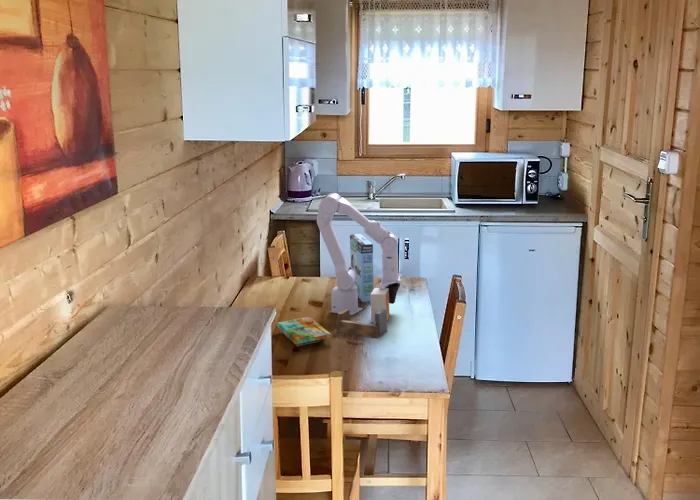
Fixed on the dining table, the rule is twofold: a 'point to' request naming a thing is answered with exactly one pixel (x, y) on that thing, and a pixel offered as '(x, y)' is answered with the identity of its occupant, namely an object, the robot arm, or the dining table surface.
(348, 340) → the dining table surface
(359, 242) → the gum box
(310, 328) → the puzzle game
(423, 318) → the dining table surface
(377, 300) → the small box
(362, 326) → the walnut shelf corner
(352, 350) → the dining table surface
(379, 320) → the bookend
